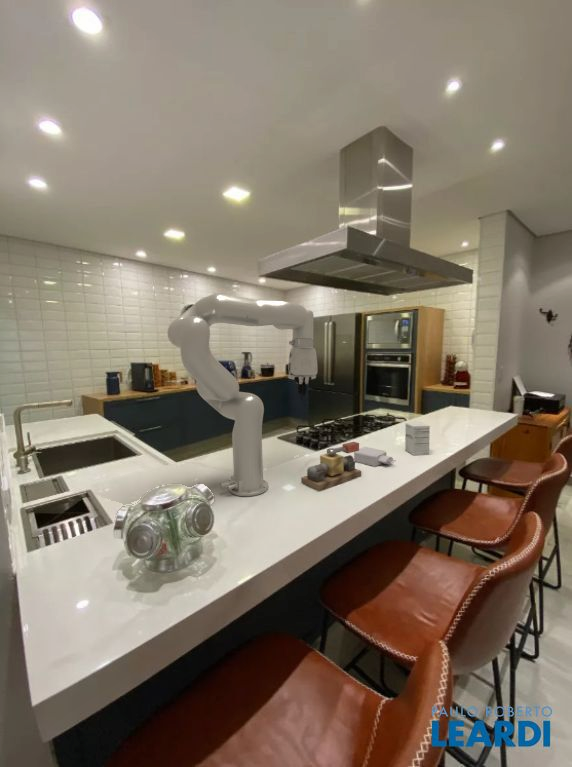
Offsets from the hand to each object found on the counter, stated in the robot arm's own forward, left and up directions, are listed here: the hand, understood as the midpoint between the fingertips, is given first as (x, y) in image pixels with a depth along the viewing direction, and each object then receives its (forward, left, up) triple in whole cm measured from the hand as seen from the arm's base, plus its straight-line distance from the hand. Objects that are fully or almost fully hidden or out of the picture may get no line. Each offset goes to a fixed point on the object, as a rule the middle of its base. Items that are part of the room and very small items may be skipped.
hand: (302, 394), depth 120 cm
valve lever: (+7, -13, -20) cm, 25 cm away
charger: (+27, -12, -29) cm, 42 cm away
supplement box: (+51, -15, -29) cm, 60 cm away
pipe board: (+2, -13, -29) cm, 32 cm away
